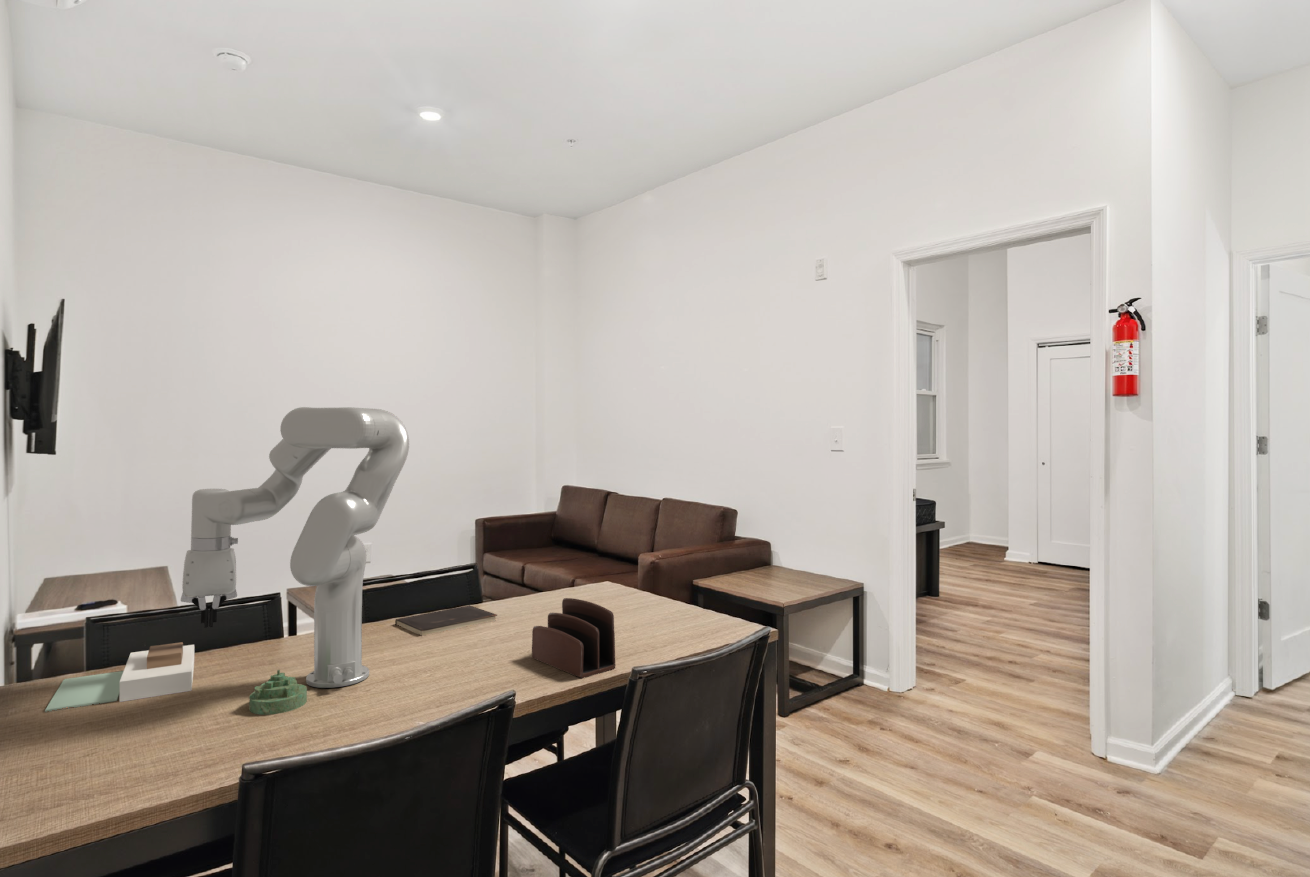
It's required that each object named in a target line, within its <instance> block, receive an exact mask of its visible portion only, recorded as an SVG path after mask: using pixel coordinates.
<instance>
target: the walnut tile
mask: <svg viewBox="0 0 1310 877" xmlns="http://www.w3.org/2000/svg"><path fill="white" fill-rule="evenodd" d="M183 646H184V643H183V641H182V642H175V643H173V642H172V643H165V644H160V645H159V644H158V645H150V646H149V649H148V650H149V652H148V655H147V669H152V668H159V667H166V666H173V665H180V664H181V663H182V656H183Z"/></svg>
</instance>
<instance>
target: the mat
mask: <svg viewBox="0 0 1310 877" xmlns="http://www.w3.org/2000/svg"><path fill="white" fill-rule="evenodd" d="M123 672H124V670H121V671H120V670H119V671H114V672H113V671H112V672H105V673H97V674H91V675H90V674H89V675H83V676H78V677H77V676H76V677H70V678H64V679H63V680H62V682H61V683H60V685H59V686H58V689H57V690H56V692H55V693H54V695H53V696H52V698H51V700H50V701H49V702H48V705H47V707H46V708H45V709H44V712H45V713H48V712H47V711H49V712H53V711H52V710H55V711H58V710H57V709H62V708H66V707H68V709H70V708H69V707H74V708H79V707H80V706H81V707H86V706H93V705H92V704H94V705H99V703H100V704H106V703H111V702H113V703H114V702H117V701H118V700H119V698H120V679H121V677H122V674H123ZM62 710H63V709H62Z"/></svg>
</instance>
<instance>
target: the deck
mask: <svg viewBox="0 0 1310 877" xmlns="http://www.w3.org/2000/svg"><path fill="white" fill-rule="evenodd" d="M148 652H149V649H148V650H141V651H135V652H130V654H129V657H128V659H127V661H126V665H125V667H124V669H123V671H124V672H123V674H122V677H121V679H120V694H119V703H121V702H127V701H135V700H140V699H148V698H153V697H159V696H160V697H161V696H166V695H167V696H168V695H171V694H172V695H173V694H179V693H180V694H181V693H184V692H191V691H192V690H193V680H194V669H195V644H188V645H183V656H182V663H181V664H180V665H173V666H166V667H159V668H152V669H147V655H148Z"/></svg>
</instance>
